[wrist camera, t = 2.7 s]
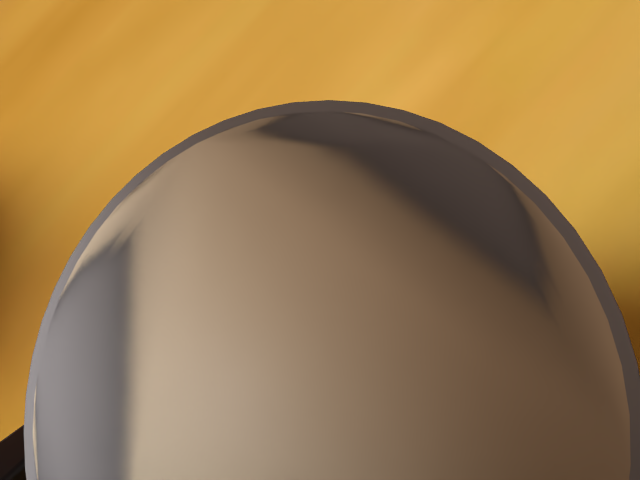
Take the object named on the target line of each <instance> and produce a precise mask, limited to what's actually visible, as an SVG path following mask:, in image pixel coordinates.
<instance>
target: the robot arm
mask: <svg viewBox="0 0 640 480" xmlns="http://www.w3.org/2000/svg"><path fill="white" fill-rule="evenodd" d="M0 480H27V479H26V472H25V450H24V425H23V426H21V427H20V428H19V429H17V430H16V431H15V432H13V433H12V434H10V435H9V436H8V437H6V438H5V439H3V440H2V441H1V442H0Z"/></svg>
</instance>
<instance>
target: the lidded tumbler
mask: <svg viewBox="0 0 640 480" xmlns="http://www.w3.org/2000/svg"><path fill="white" fill-rule="evenodd" d="M24 450H25V472H26V479H27V480H640V376H639V370H638V364H637V361H636V357H635V354H634V351H633V348H632V345H631V341H630V338H629V335H628V332H627V328H626V325H625V322H624V319H623V316H622V313H621V311H620V309H619V307H618V305H617V303H616V300H615V298H614V296H613V294H612V292H611V290H610V288H609V285H608V283H607V281H606V279H605V277H604V275H603V273H602V270H601V269H600V267H599V266H598V264H597V263H596V261H595V260H594V258H593V256H592V255H591V253H590V252H589V250H588V249H587V247H586V246H585V244H584V242H583V241H582V239H581V238H580V236H579V235H578V233H577V232H576V230H575V229H574V228H573V226H572V225H571V224H570V223H569V222H568V221H567V219H566V218H565V217H564V216H563V215H562V214H561V212H560V211H559V210H558V209H557V208H556V206H555V205H554V204H553V203H552V202H551V201H550V199H549V198H548V197H547V196H546V195H545V194H544V193H543V192H542V191H541V190H540V189H539V188H537V187H536V186H535V185H534V184H533V183H532V182H531V181H530V180H528V179H527V178H526V177H525V176H524V175H523V174H522V173H521V172H520V171H518V170H517V169H516V168H515V167H514V166H513V165H511V164H510V163H509V162H507V161H506V160H504V159H503V158H501V157H500V156H498V155H497V154H495V153H494V152H492V151H491V150H489V149H488V148H487V147H485V146H484V145H482V144H481V143H479V142H478V141H476V140H474V139H472V138H470V137H468V136H466V135H464V134H462V133H460V132H458V131H456V130H454V129H452V128H450V127H448V126H446V125H444V124H442V123H439V122H436V121H433V120H431V119H428V118H425V117H422V116H419V115H416V114H413V113H410V112H407V111H404V110H400V109H395V108H390V107H385V106H380V105H375V104H370V103H363V102H348V101H333V100H325V101H309V102H294V103H288V104H283V105H277V106H272V107H267V108H262V109H257V110H254V111H251V112H248V113H245V114H242V115H239V116H236V117H233V118H230V119H227V120H224V121H222V122H219V123H217V124H215V125H213V126H211V127H209V128H207V129H205V130H202V131H200V132H198V133H196V134H194V135H192V136H190V137H189V138H187V139H186V140H184V141H182V142H181V143H179V144H177V145H176V146H174V147H173V148H171V149H169V150H168V151H166V152H165V153H163V154H162V155H161V156H159V157H158V158H157V159H156V160H154V161H153V162H152V163H150V164H149V165H148V166H147V167H145V168H144V169H143V170H142V171H140V172H139V173H138V174H137V175H136V176H135V177H134V178H133V179H132V180H131V181H130V182H129V183H128V184H127V185H126V186H125V187H124V188H123V189H122V190H121V191H120V192H118V193H117V194H116V195H115V196H114V197H113V198H112V200H111V201H110V202H109V203H108V204H107V206H106V207H105V208H104V209H103V211H102V212H101V213H100V214H99V216H98V217H97V218H96V219H95V221H94V222H93V223H92V224H91V226H90V227H89V228H88V230H87V232H86V233H85V235H84V236H83V238H82V239H81V241H80V242H79V244H78V246H77V247H76V249H75V250H74V252H73V253H72V255H71V256H70V258H69V260H68V262H67V264H66V266H65V268H64V270H63V272H62V274H61V276H60V278H59V280H58V282H57V284H56V286H55V288H54V291H53V293H52V296H51V299H50V301H49V304H48V307H47V309H46V312H45V314H44V317H43V320H42V323H41V326H40V330H39V334H38V337H37V341H36V345H35V349H34V352H33V356H32V361H31V367H30V373H29V380H28V386H27V392H26V404H25V420H24Z"/></svg>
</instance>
